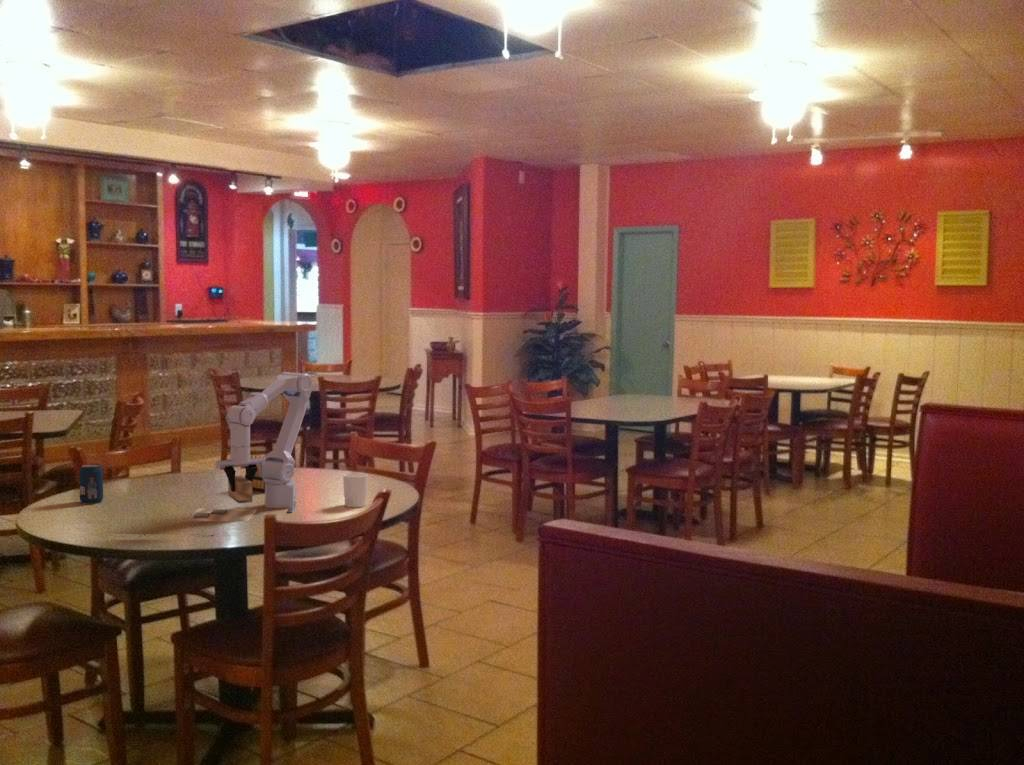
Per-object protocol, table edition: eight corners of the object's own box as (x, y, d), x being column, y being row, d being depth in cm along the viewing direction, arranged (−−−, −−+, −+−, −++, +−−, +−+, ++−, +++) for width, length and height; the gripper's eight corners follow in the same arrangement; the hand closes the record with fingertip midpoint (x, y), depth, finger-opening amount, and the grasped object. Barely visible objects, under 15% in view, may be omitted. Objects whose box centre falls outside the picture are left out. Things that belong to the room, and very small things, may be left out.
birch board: (257, 513, 312) (257, 508, 312) (248, 526, 296) (247, 521, 296) (198, 513, 311) (198, 508, 311) (185, 525, 295) (185, 520, 295)
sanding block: (241, 494, 310) (241, 475, 310) (252, 502, 300) (252, 482, 299) (228, 495, 308) (228, 476, 308) (238, 503, 298) (238, 483, 297)
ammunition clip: (271, 492, 344) (271, 457, 342) (267, 493, 342) (267, 458, 341) (248, 488, 349) (248, 454, 348) (244, 489, 347) (244, 454, 346)
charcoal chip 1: (210, 515, 303) (210, 513, 303) (207, 518, 299) (207, 516, 299) (196, 515, 302) (196, 513, 302) (193, 518, 298) (193, 516, 298)
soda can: (94, 498, 328) (93, 462, 327) (108, 501, 324) (107, 464, 323) (75, 502, 322) (74, 465, 321) (89, 505, 318) (88, 468, 317)
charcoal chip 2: (227, 511, 308) (227, 509, 308) (224, 514, 304) (224, 512, 304) (214, 511, 308) (214, 509, 308) (211, 514, 304) (211, 512, 304)
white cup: (371, 503, 329) (371, 473, 328) (361, 508, 321) (361, 477, 320) (349, 501, 331) (349, 471, 330) (339, 506, 324) (339, 476, 323)
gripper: (260, 442, 309) (260, 485, 310) (212, 445, 302) (212, 489, 303) (267, 445, 303) (267, 490, 304) (218, 448, 296) (218, 494, 297)
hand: (240, 490), depth 303 cm, fingers closed on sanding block, 4 cm apart
